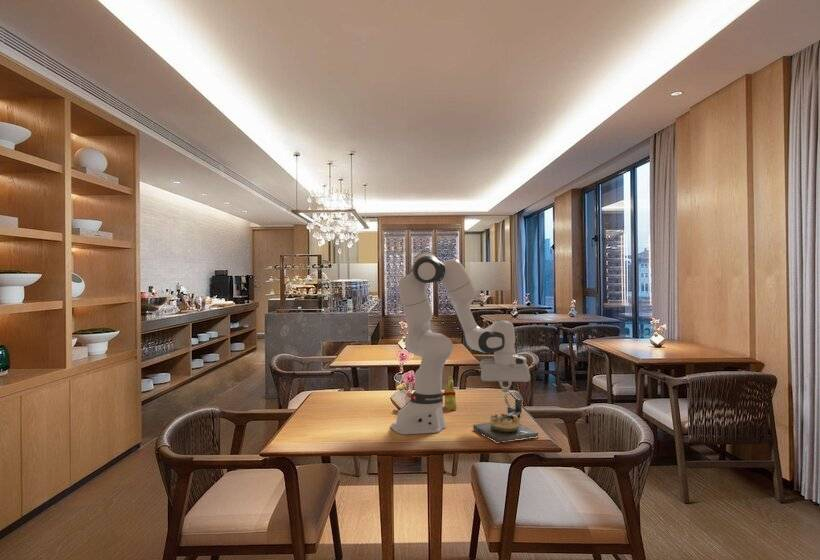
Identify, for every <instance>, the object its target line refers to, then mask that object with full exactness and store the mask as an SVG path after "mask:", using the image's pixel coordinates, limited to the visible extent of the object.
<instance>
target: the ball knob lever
mask: <svg viewBox="0 0 820 560" xmlns="http://www.w3.org/2000/svg"><path fill="white" fill-rule="evenodd" d="M514 407H515V411H513V412H511V413H509V414H507V412H506V413H505V412H501V415H500V416H499V415H498V414H496V413H493V414H491V415H490V422H491V429H493V430H495V431H499V432H515V431H518V430H519V424H520V419H519V417H518V416H517V415H519V414H520V415H521V414H522V413H523V412H522V411H523V410H522V407H523V403H522V400H521V399H518V398H515V399H514Z"/></svg>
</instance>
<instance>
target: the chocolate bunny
mask: <svg viewBox="0 0 820 560" xmlns="http://www.w3.org/2000/svg"><path fill="white" fill-rule="evenodd" d="M443 399H444V406H445V408H446V409H447V410H448V411H455V409H456V410H457V402H456V400H457V398H456V391H455V387H454V379H453V377H452V376H448V377H447V381H446V383H445V387H444V392H443Z"/></svg>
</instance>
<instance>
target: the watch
mask: <svg viewBox="0 0 820 560" xmlns="http://www.w3.org/2000/svg"><path fill="white" fill-rule="evenodd" d="M511 393H514V394H515V397H516V399H521V400H522V404H523V403H524V402H523V401H524V399H523V396H522V395H521V394H520V392H519V390H513V389H509V392H505V395H504V402H505V404H506V405H507V410H506V411H507V412H508V414H509V413H511V412H513V411H515V406H511V405H510V404H509V402H508V398H507V397H508V395H510V394H511ZM507 412H506V413H507ZM517 416H520V417H521V414H519V415H517Z"/></svg>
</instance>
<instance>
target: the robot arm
mask: <svg viewBox="0 0 820 560" xmlns="http://www.w3.org/2000/svg"><path fill="white" fill-rule="evenodd" d="M437 282H441V284H442V286H443V288H444V290H445V293H446V295H447V296H448V298H449V300H450V302H451V304H452V307H453V310H454V312H455V315H456V317H457V319H458V322H459V324H460V327H461V330H462V337H463V338H462V339H463V343H464V345H465V347H467V349H469V350H471V351H476V352H477V351H478V352H481V353H485V354H492V353H493V358H483V359H481V360H480V361H479V369H480V371H481V372H480V379H481V381H483V382H498V383H499V386H500V388H501V392H502V393H507V392H509V391H510V387H511V386H512V382H520V383H521V382H525V383H526V382H529V381H531V374H530V368H529V365H528V364H527V358H526V356H523V355H520V354H516V348H515V343H516V335H515V327H514V324H513V323H512V322H511V321H510V320H509V321H508V320H501V319H496V320H494V322H493V323H492V324H490V325H488V326H487V327H485V328H482V327H480V326H479V325H478V324H477V322H476V321H475V318H474V316H473V312H472V311H471V310H472V309H471V304H472V303H473V302H474V300H475V299H476V295H477V294H476V289H475V286H474V284H473V281H472V279H471V277H470V275H469V273H468V271H467V269H466V268H465V267H464V266H463V264H462V263H461V261H459V260H458V259H456V258H455V259H454V258H450V259H447V260H445V261H441V260H439V259H438V256H437V255H436V254H435V253H433V252H432V251H426V250H425V251H421V252H419V253H417V255H415V257H414V258H413V262H412V266H411V270H410V273H409V274H406V275H403V276H402V277H401V278H400V279H399V281H398V293H399V298H400V303H401V306H402V309H403V312H404V316H405V320H406V323H407V325H406V326H407V335H406V337H405V339H404V346H405V349H406V350H407V351H408V352H409V353H411V354H412V355H414V356H416V357H421V361H420V365H419V368H418V369H416V371H415V373H414V391H413V392H410V391H408V392H407V393H406V396H407V398H409V399H410V401H409V402H407V404H406V405H404V406H403V407H402V408H401V409H399V410H398V411H397V415H396V420H395V421H394V422H392V423H391V425H390V428H391V429H392V430H393V432H394V433H397V434H399V435H405V436H406V435H419V434H434V433H440V432H441V431H442V430H444V428H446V427H447V425H446V422H445V421H446V420H445V418H444V411H443V402H444V396H443V393H444V392H443V391H442V389H443V388H442V385H443V384H442V383H443V381H442V379H443V371H444V370H443V369H444V366H445V365H446V364H445V363H446V362H447V359H449V357H451V355H452V353H453V351H454V350H453V349H454V344H453V342H452V340H451V338H449V337H448V336H446V335H444V334H443V333H439V332H434V331H433V330H431V321H432V319H433V318H434V316H433V315H434V314H433V310H432V306H431V302H430V299H429V295H428V291H427V288H426V284H432V283H437ZM504 382H508V383H507V384H508V385H507V386H504V385H503V383H504Z"/></svg>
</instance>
